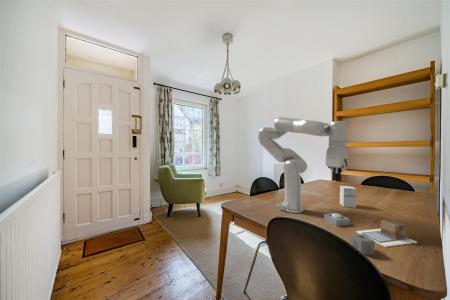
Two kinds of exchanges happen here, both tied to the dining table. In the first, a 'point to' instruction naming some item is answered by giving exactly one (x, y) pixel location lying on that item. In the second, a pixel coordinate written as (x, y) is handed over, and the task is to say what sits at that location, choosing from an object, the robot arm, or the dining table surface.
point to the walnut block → (393, 229)
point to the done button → (336, 215)
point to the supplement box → (348, 196)
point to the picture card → (385, 238)
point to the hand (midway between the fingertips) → (336, 180)
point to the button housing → (337, 220)
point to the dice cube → (363, 243)
